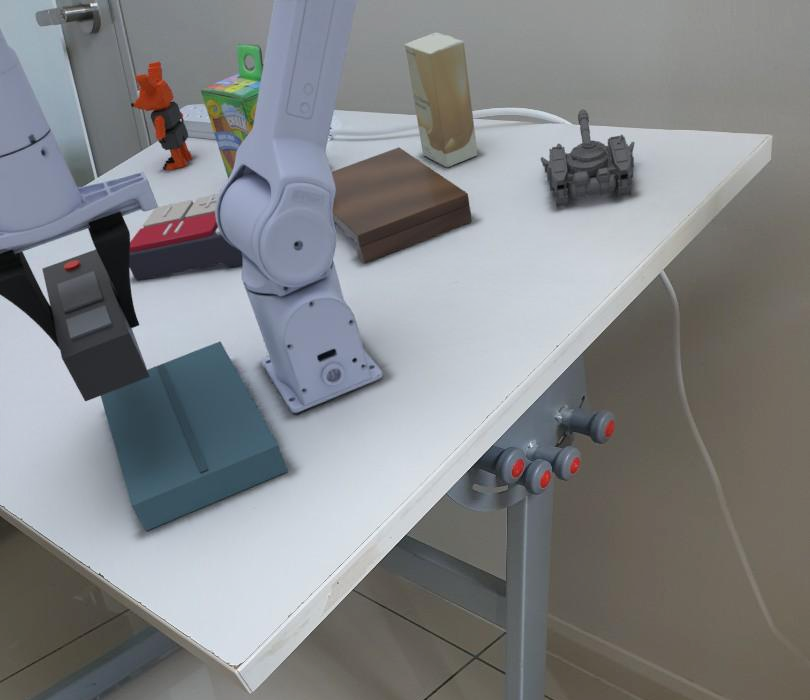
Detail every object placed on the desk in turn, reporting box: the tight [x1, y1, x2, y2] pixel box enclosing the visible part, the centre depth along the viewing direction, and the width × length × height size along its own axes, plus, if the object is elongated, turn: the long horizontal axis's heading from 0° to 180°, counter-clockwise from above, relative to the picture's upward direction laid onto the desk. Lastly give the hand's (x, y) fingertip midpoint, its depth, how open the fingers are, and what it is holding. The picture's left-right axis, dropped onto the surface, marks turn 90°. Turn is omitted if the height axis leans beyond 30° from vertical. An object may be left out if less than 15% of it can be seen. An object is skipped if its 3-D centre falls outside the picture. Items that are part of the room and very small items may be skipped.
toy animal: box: [130, 61, 193, 171], centre depth 116 cm, size 8×6×12 cm
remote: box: [41, 249, 150, 402], centre depth 62 cm, size 16×4×4 cm, turn 23°
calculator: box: [129, 193, 243, 281], centre depth 95 cm, size 11×4×15 cm
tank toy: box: [540, 109, 635, 207], centre depth 87 cm, size 12×10×5 cm
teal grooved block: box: [100, 341, 289, 532], centre depth 69 cm, size 18×11×3 cm, turn 23°
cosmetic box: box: [404, 31, 478, 168], centre depth 98 cm, size 6×4×12 cm
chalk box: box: [200, 43, 264, 180], centre depth 103 cm, size 9×9×15 cm
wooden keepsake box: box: [331, 147, 473, 264], centre depth 92 cm, size 18×12×3 cm, turn 23°
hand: (100, 333), depth 63 cm, fingers closed on remote, 4 cm apart
